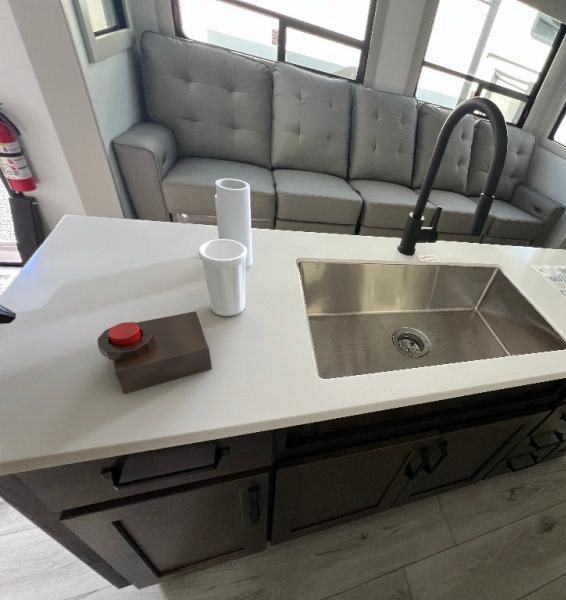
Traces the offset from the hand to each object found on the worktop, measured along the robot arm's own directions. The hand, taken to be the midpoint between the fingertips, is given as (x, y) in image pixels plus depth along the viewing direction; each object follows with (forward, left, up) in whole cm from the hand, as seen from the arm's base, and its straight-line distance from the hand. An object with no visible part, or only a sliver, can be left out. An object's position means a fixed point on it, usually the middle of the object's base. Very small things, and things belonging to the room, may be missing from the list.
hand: (13, 318), depth 40 cm
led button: (+6, +8, -7) cm, 12 cm away
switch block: (+8, +11, -14) cm, 19 cm away
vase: (-3, +44, -14) cm, 46 cm away
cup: (+8, +27, -14) cm, 31 cm away
